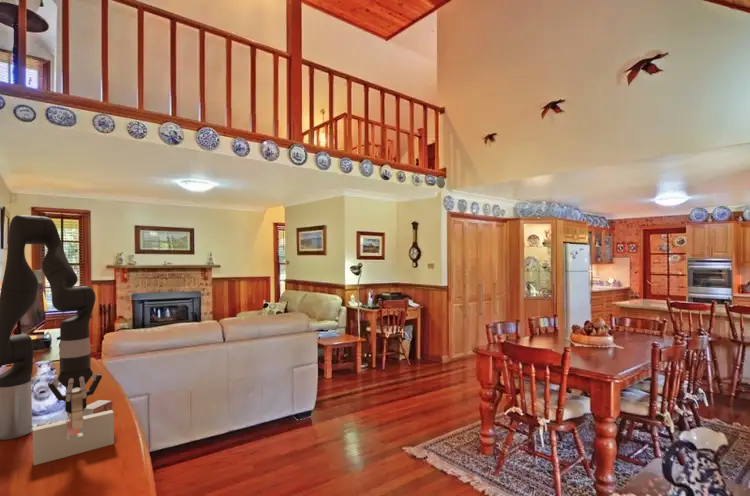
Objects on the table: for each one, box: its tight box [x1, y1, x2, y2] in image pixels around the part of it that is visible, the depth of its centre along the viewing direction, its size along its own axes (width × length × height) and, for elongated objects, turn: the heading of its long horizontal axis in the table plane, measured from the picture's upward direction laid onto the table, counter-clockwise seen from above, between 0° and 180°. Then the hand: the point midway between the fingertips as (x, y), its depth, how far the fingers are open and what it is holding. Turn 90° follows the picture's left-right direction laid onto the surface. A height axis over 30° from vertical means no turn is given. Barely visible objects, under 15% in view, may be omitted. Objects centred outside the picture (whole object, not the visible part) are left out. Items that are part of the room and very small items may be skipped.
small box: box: [78, 399, 113, 433], centre depth 141 cm, size 8×6×10 cm
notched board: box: [32, 409, 115, 466], centre depth 130 cm, size 20×3×10 cm, turn 131°
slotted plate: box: [66, 388, 83, 431], centre depth 130 cm, size 16×2×10 cm, turn 41°
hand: (76, 411), depth 127 cm, fingers closed on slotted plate, 2 cm apart
